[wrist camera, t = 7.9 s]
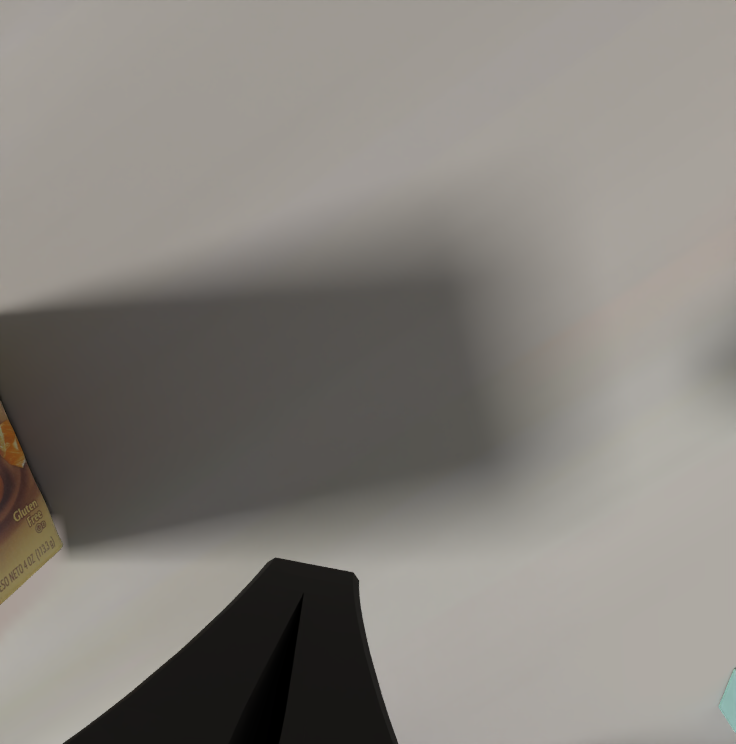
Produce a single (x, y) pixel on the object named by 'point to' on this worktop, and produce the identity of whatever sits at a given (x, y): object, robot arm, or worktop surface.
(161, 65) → the worktop surface
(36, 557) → the candy box
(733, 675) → the teal bracket
